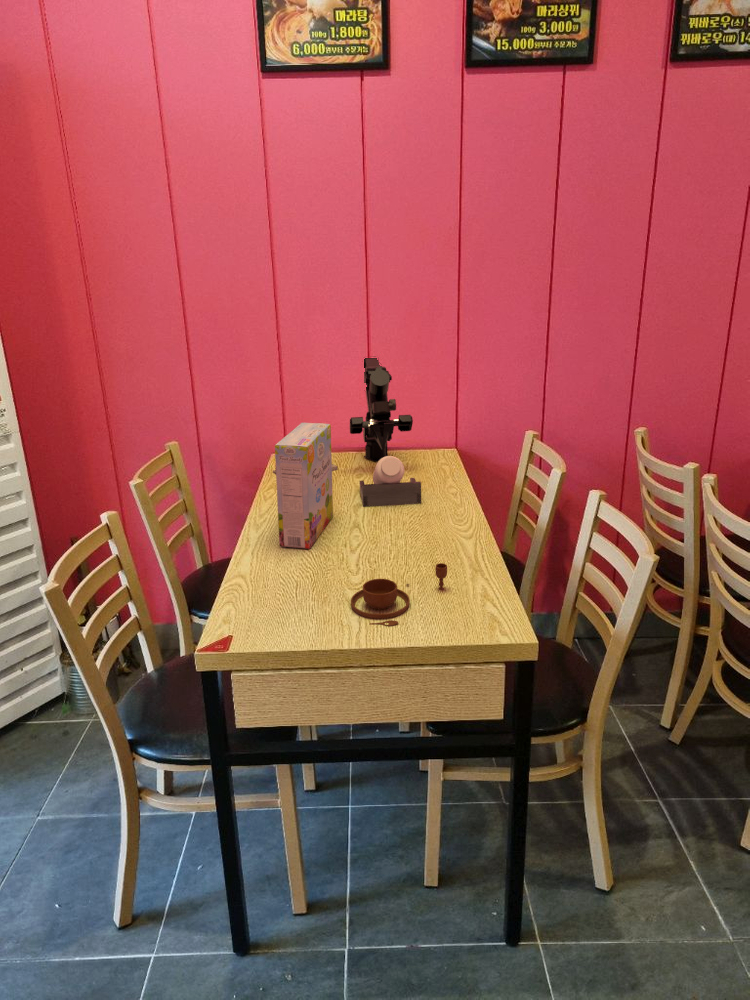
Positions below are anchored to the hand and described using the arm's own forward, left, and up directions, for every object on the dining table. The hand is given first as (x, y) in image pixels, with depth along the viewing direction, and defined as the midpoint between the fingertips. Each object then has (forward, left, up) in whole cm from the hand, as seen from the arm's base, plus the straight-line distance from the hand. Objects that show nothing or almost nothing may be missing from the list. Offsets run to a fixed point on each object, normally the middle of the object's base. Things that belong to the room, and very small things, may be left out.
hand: (383, 449), depth 221 cm
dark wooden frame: (+8, +13, -9) cm, 18 cm away
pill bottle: (+5, +8, -6) cm, 11 cm away
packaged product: (+15, -22, -10) cm, 28 cm away
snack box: (+38, +21, -10) cm, 45 cm away
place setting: (+43, +65, -10) cm, 78 cm away
